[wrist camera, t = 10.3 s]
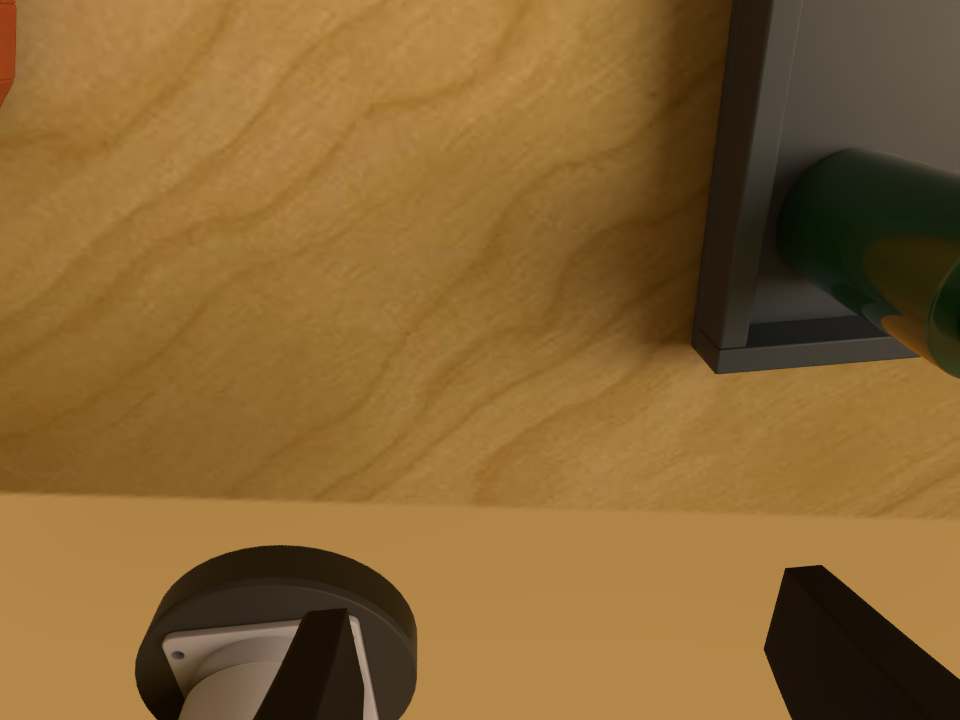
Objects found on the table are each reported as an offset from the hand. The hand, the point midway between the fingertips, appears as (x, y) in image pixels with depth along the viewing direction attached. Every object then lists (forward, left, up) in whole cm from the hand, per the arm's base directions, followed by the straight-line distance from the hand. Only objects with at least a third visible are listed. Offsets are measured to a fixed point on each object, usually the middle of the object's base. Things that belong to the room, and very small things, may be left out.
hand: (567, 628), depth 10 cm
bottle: (+4, -10, -10) cm, 14 cm away
